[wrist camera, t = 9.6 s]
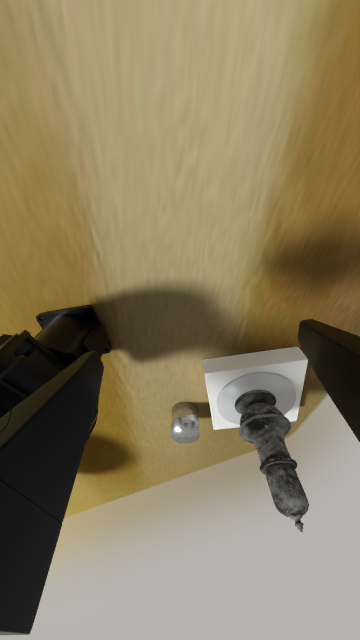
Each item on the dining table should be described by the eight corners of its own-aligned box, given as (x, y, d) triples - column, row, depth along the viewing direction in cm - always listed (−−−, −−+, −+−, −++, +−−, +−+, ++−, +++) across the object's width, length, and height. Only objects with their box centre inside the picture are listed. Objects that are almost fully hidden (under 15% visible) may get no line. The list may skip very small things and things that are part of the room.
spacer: (174, 419, 34) (174, 444, 30) (169, 403, 32) (168, 428, 28) (199, 416, 33) (201, 441, 30) (195, 400, 31) (197, 425, 28)
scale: (211, 417, 34) (214, 436, 31) (202, 359, 27) (204, 377, 24) (288, 408, 32) (298, 427, 30) (298, 346, 26) (311, 363, 23)
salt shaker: (265, 419, 29) (313, 544, 19) (225, 413, 28) (252, 540, 18) (286, 391, 26) (357, 522, 16) (242, 384, 25) (286, 516, 15)
